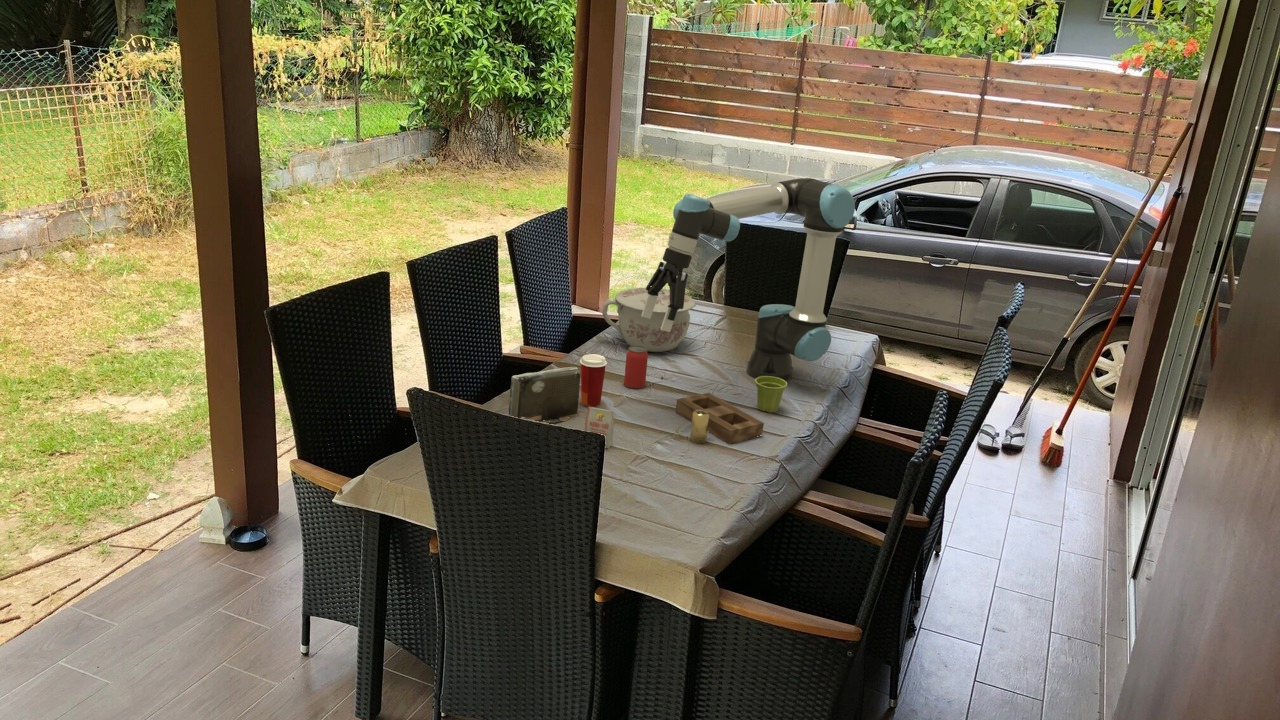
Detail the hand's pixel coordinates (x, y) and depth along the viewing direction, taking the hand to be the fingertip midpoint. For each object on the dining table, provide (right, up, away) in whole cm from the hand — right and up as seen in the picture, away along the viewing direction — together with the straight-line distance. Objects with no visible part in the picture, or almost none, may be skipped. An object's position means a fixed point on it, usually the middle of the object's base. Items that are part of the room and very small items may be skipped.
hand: (655, 324), depth 268 cm
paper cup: (-19, -23, +14) cm, 32 cm away
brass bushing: (+12, -32, -5) cm, 34 cm away
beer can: (-6, -18, +29) cm, 35 cm away
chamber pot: (0, -5, +65) cm, 66 cm away
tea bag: (-15, -32, -12) cm, 38 cm away
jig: (+18, -28, +7) cm, 34 cm away
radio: (-31, -26, +1) cm, 41 cm away
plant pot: (+34, -25, +20) cm, 46 cm away
